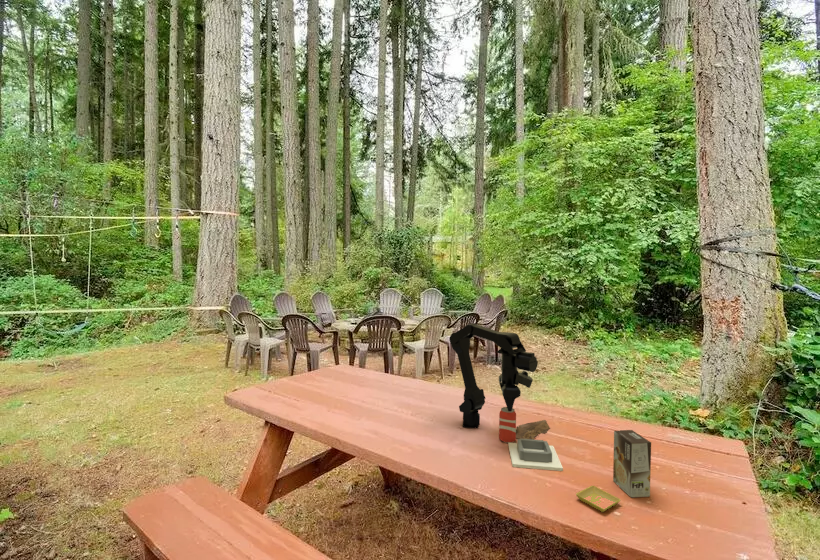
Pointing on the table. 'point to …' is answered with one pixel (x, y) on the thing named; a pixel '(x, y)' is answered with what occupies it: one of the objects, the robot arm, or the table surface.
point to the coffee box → (632, 463)
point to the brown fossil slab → (531, 429)
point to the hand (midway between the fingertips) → (508, 406)
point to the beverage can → (507, 425)
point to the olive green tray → (594, 493)
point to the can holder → (534, 455)
